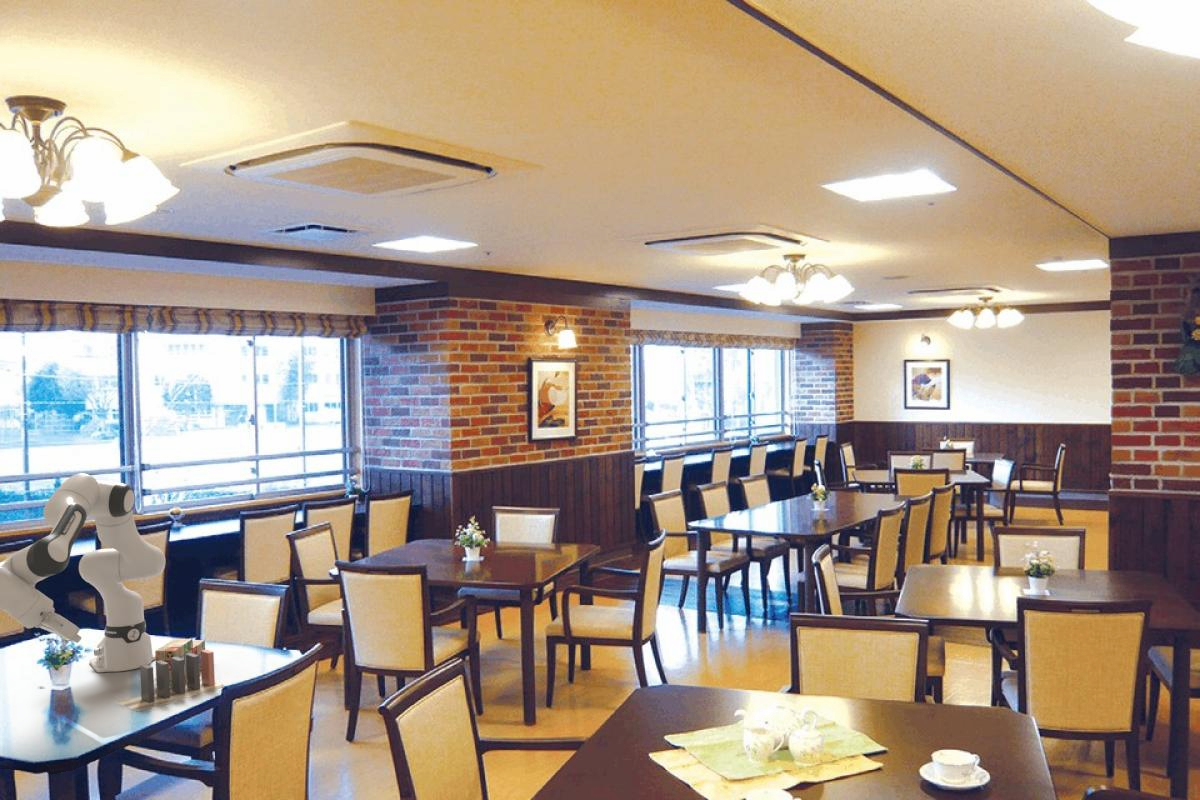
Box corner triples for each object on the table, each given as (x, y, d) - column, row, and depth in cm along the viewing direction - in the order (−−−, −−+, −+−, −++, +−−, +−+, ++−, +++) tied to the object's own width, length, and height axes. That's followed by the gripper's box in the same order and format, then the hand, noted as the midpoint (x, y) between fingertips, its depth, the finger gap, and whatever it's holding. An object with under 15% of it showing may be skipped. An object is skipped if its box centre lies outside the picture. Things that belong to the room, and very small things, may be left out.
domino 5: (209, 686, 288) (208, 653, 288) (201, 683, 292) (200, 650, 291) (214, 685, 290) (213, 652, 289) (206, 681, 293) (205, 649, 293)
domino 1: (149, 703, 275) (147, 668, 275) (141, 699, 278) (139, 665, 278) (154, 701, 276) (153, 667, 276) (147, 698, 279) (145, 664, 279)
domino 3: (180, 694, 282) (178, 660, 281) (172, 691, 285) (170, 657, 285) (185, 693, 283) (183, 659, 283) (177, 689, 286) (176, 656, 286)
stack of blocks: (187, 668, 312) (185, 631, 311) (206, 668, 312) (205, 630, 311) (156, 690, 290) (154, 650, 290) (177, 690, 290) (175, 649, 290)
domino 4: (195, 690, 285) (193, 657, 285) (187, 687, 288) (185, 654, 288) (200, 689, 286) (198, 655, 286) (192, 685, 290) (191, 652, 289)
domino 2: (164, 698, 278) (163, 664, 278) (157, 695, 282) (155, 661, 281) (170, 697, 280) (168, 663, 279) (162, 693, 283) (161, 660, 283)
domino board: (117, 706, 277) (117, 701, 277) (204, 682, 297) (204, 678, 296) (136, 715, 268) (136, 711, 268) (225, 690, 288) (225, 686, 288)
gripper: (58, 606, 250) (99, 635, 258) (30, 595, 263) (70, 623, 271) (40, 626, 247) (82, 655, 254) (12, 615, 260) (53, 643, 268)
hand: (76, 639), depth 263 cm, fingers open, 2 cm apart
